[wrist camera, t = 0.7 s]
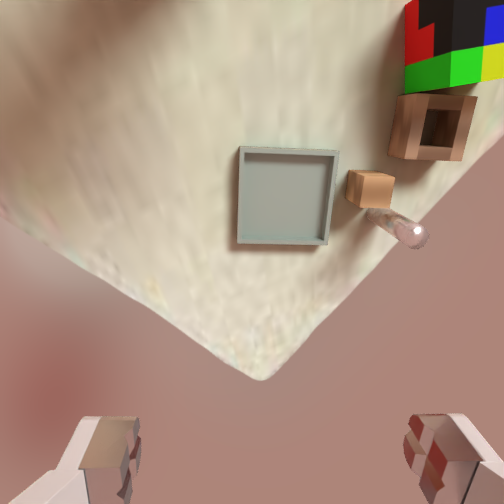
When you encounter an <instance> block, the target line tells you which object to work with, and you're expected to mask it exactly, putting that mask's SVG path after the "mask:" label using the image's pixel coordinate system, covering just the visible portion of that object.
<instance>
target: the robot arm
mask: <svg viewBox="0 0 504 504" xmlns="http://www.w3.org/2000/svg"><path fill="white" fill-rule="evenodd" d="M408 424H409V426H410V428H411V430H410V431H409V432H408V433H407V434H406V435H405V438H404V442H403V447H404V454H405V458H406V461H407V463H408V465H409V467H410V469H411V470H412V471H413V472H414V473H415V474H417V475H418V476H419V477H420V480H419V486H420V488H421V490H422V492H423V494H424V496H425V497H426V499H427V501H428V503H429V504H504V461H502V460H501V459H500V457H499V456H498V455H497V454H496V453H495V451H494V450H493V449H492V448H491V446H490V445H489V444H488V443H487V441H486V440H485V439H484V438H483V437H482V435H481V434H480V433H479V432H478V430H477V429H476V428H475V427H474V426H473V424H472V423H471V422H470V421H469V419H468V418H467V417H466V416H464V415H463V414H461V413H459V414H413V415H412V416H411V417H410V420H409V423H408ZM139 429H140V421H139V418H138V417H117V416H102V417H98V416H84V417H83V418H82V419H81V421H80V422H79V423H78V425H77V427H76V429H75V432H74V433H73V435H72V437H71V439H70V441H69V444H68V445H67V447H66V449H65V451H64V453H63V455H62V457H61V459H60V461H59V463H58V465H57V467H56V469H55V470H49V471H48V472H47V473H45V474H44V475H43V476H41V477H40V478H39V479H38V480H37V481H35V482H34V483H33V484H31V486H29V487H28V488H27V489H25V490H24V491H23V492H22V493H20V494H19V495H18V496H17V497H16V498H14V499H13V500H12V501H11V502H9V503H8V504H129V503H130V500H131V496H132V480H133V479H134V478H135V477H136V476H137V473H138V469H139V464H140V458H141V438H140V437H139V436H138V432H139Z"/></svg>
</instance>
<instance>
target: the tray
mask: <svg viewBox="0 0 504 504" xmlns="http://www.w3.org/2000/svg"><path fill="white" fill-rule="evenodd" d="M339 153H340V151H336V150H319V149H295V148H270V147H246V146H240V149H239V182H238V216H237V243H242V244H291V245H328V238H329V230H330V222H331V214H332V207H333V199H334V191H335V184H336V176H337V168H338V160H339Z"/></svg>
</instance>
